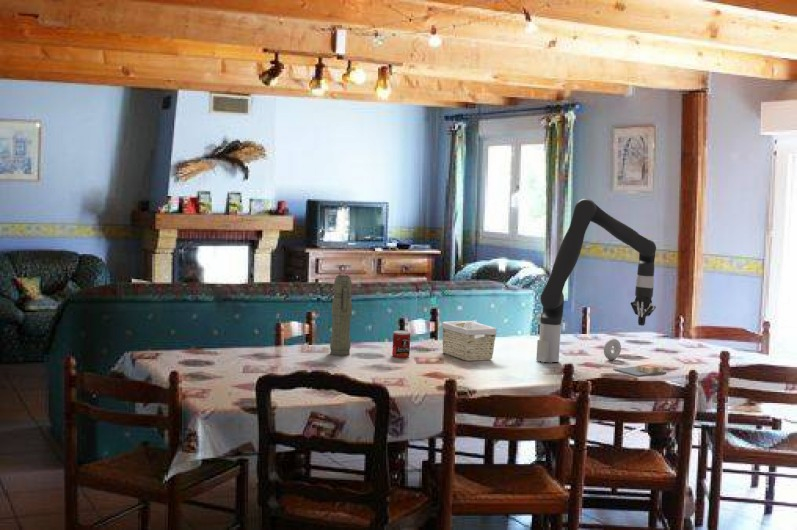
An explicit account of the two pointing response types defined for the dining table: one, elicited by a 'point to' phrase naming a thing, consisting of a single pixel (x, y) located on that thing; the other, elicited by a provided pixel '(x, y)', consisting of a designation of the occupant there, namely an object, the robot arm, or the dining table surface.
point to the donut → (615, 351)
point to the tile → (649, 368)
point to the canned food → (401, 344)
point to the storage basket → (468, 340)
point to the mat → (633, 371)
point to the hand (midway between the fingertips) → (641, 325)
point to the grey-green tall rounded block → (341, 316)
